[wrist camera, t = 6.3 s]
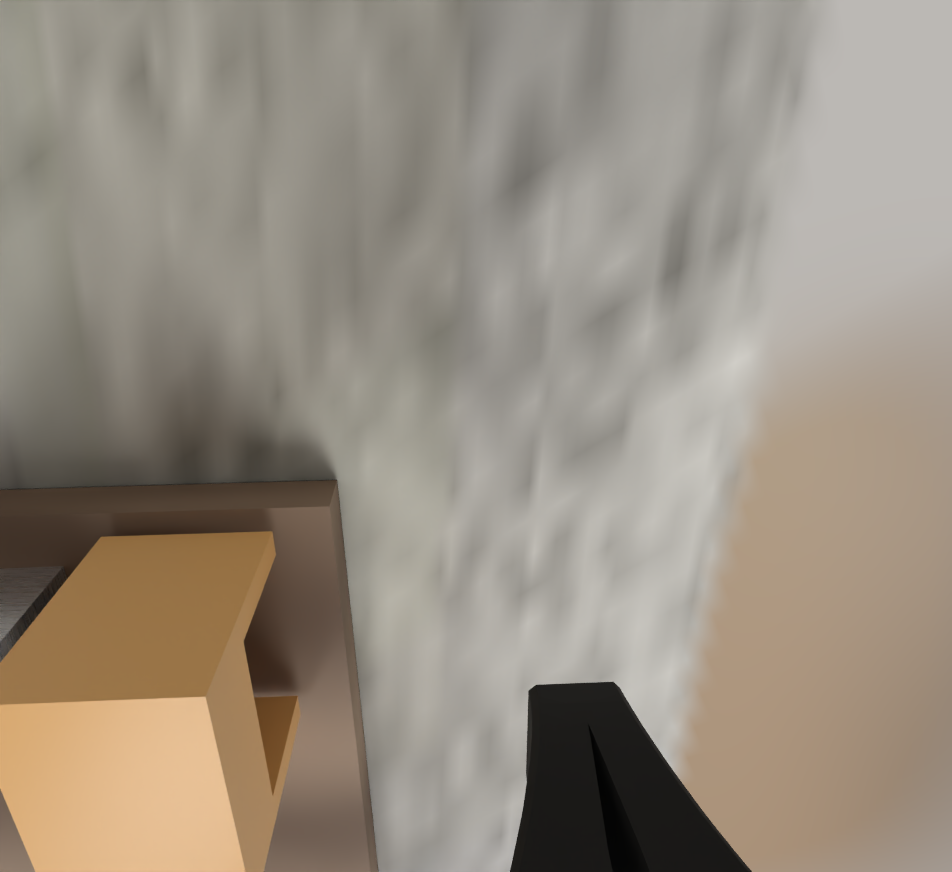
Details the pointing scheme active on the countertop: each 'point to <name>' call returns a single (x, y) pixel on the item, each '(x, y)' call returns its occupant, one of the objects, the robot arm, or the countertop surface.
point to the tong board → (266, 642)
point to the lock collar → (146, 712)
